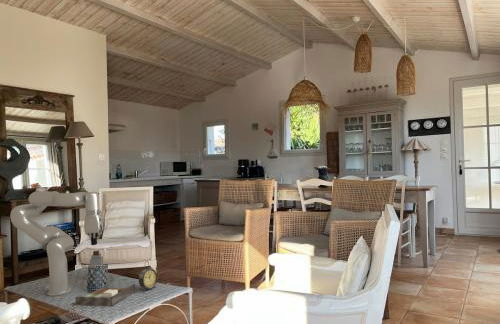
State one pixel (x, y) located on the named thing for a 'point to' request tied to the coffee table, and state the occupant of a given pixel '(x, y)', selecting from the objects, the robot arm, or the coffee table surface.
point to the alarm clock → (147, 278)
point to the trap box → (100, 300)
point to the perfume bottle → (96, 259)
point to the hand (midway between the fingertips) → (94, 244)
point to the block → (110, 293)
